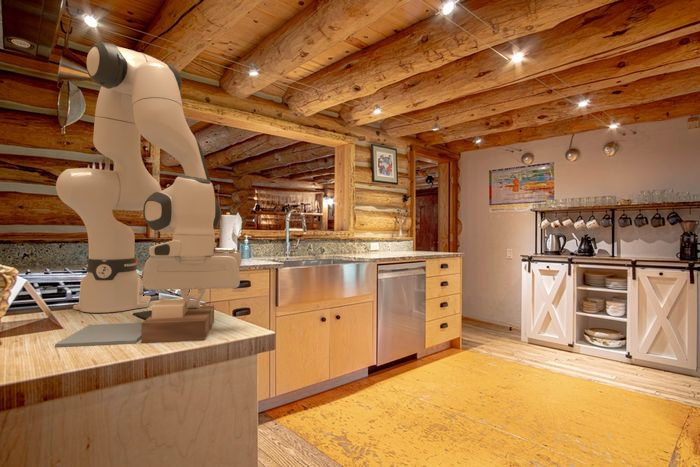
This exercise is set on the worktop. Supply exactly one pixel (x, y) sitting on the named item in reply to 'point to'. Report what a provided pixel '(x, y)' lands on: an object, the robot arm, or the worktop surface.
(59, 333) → the worktop surface
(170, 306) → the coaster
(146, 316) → the smartphone
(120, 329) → the mat
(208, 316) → the brown flat wooden block
